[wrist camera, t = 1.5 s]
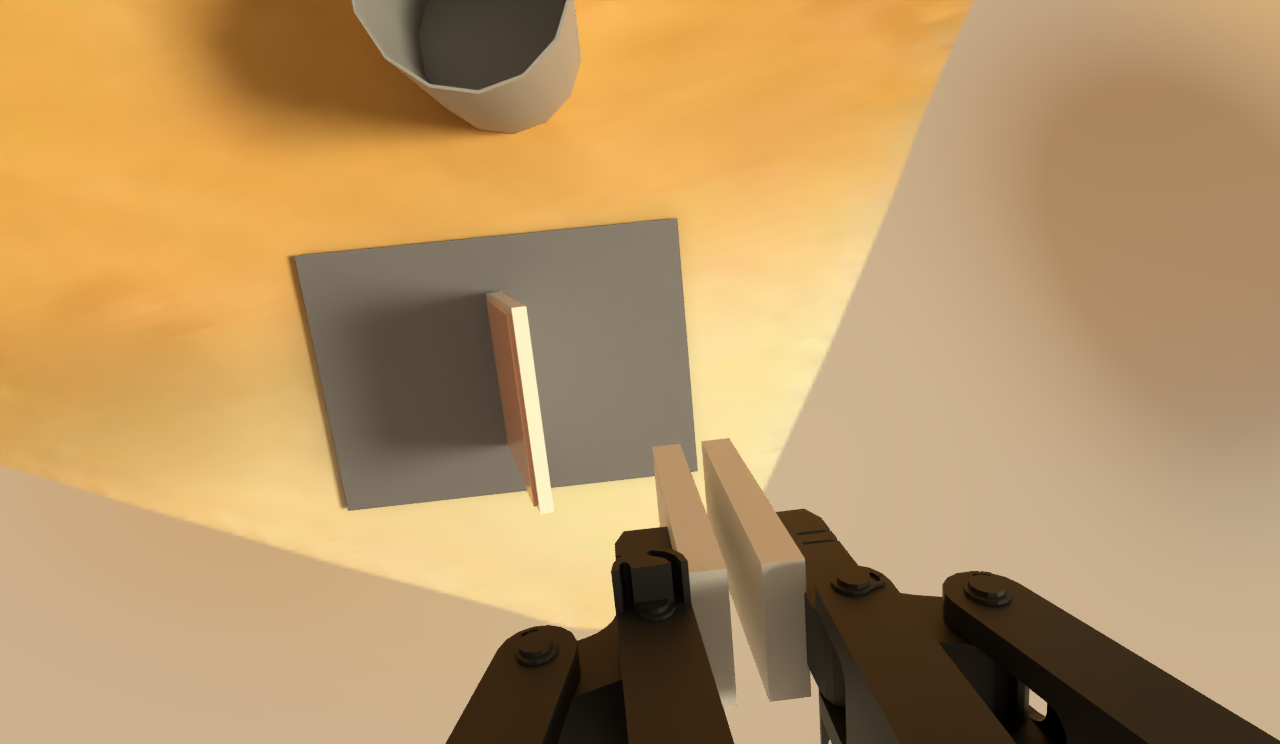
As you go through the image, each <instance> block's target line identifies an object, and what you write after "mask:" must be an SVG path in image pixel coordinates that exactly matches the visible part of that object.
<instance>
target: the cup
mask: <svg viewBox="0 0 1280 744" xmlns="http://www.w3.org/2000/svg"><path fill="white" fill-rule="evenodd" d="M352 5H353V11H354V13H355V15H356V16H357V18H358V19H359V21H360V22H361V24H362V25H363V27H364V28H365V30H366V31H367V33H368V34H369V36H370V37H371V39H372V40H373V42H374V43H375V45H376V46H377V48H378V49H379V51H380V52H381V54H382V55H383V57H384V58H385V59H386V60H387V61H388V62H390V63H391V64H392V65H393V66H394V67H396V68H397V69H398V70H399V71H401V72H402V73H403V74H404V75H406V76H407V77H408V78H409V79H410V80H412V81H413V82H414V83H415V84H417V85H418V86H419V87H420V88H422V89H423V90H424V91H425V92H426V93H428V94H429V95H430V96H431V97H433V98H434V99H435V100H436V101H438V102H439V103H440V104H441V105H442V106H444V107H445V108H446V109H447V110H449V111H450V112H452V113H454V114H455V115H457V116H458V117H460V118H461V119H463V120H464V121H466V122H468V123H469V124H471V125H472V126H474V127H475V128H477V129H479V130H486V131H494V132H502V133H510V134H515V133H518V132H520V131H523V130H526V129H529V128H531V127H534V126H537V125H540V124H542V123H545V122H547V121H548V120H549V119H550V118H551V116H552V115H553V114H554V113H555V112H556V111H557V110H558V109H559V108H560V107H561V106H562V105H563V103H564V102H565V101H566V100H567V99H568V98H569V97H570V96H571V92H572V89H573V86H574V83H575V79H576V76H577V73H578V69H579V66H580V63H581V54H580V45H579V37H578V28H577V19H576V10H575V2H574V0H352Z"/></svg>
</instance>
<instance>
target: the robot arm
mask: <svg viewBox="0 0 1280 744" xmlns="http://www.w3.org/2000/svg"><path fill="white" fill-rule="evenodd" d="M652 449H653V460H654V470H655V480H656V491H657V501H658V511H659V522H660V527H659V528H650V529H642V530H633V531H624V532H623V533H622V535H621V536H620V537H619V539H618V540H617V542H616V543H615V554H616V561H615V562H614V563H613V566H612V570H611V574H612V583H613V591H614V600H615V609H616V616H615V618H614V620H613V621H612V622H611V623H610V624H609V625H608V626H607V627H606V628H604V629H603V630H601V631H600V632H598V633H596V634H594V635H592V636H590V637H587V638H585V639H581V640H578V641H577V640H576V639H575V637H574V635H573V634H572V633H571V632H570V631H568V630H566V629H564V628H562V627H557V626H550V625H546V626H536V627H532V628H529V629H526V630H523V631H520V632H518V633H516V634H515V635H513V636H512V637H510V638H508V639H507V640H506V641H505V642H504V643H503V644H502V645H501V647H500V648H499V649H498V650H497V652H496V654H495V656H494V658H493V659H492V661H491V663H490V665H489V667H488V668H487V670H486V672H485V674H484V675H483V677H482V679H481V681H480V683H479V684H478V686H477V688H476V690H475V692H474V694H473V695H472V697H471V699H470V701H469V703H468V704H467V706H466V708H465V710H464V711H463V713H462V715H461V717H460V719H459V720H458V722H457V724H456V726H455V728H454V730H453V732H452V733H451V735H450V737H449V738H448V740H447V742H446V744H734V742H733V738H732V735H731V732H730V728H729V725H728V722H727V719H726V715H725V712H724V709H723V708H725V707H733V706H737V699H736V685H735V672H734V658H733V644H732V630H731V616H730V602H729V591H730V594H731V596H732V599H733V602H734V605H735V607H736V610H737V613H738V616H739V618H740V621H741V624H742V627H743V629H744V632H745V635H746V638H747V641H748V643H749V646H750V649H751V652H752V654H753V657H754V660H755V663H756V665H757V668H758V671H759V674H760V677H761V679H762V682H763V685H764V688H765V690H766V693H767V696H768V699H769V701H770V702H771V701H779V700H787V699H795V698H803V697H811V684H810V671H811V673H812V675H813V677H814V679H815V681H816V683H817V685H818V687H819V708H820V709H819V710H820V733H821V744H828V742H829V740H831V743H832V744H1280V741H1279V740H1278V739H1276V738H1274V737H1273V736H1271V735H1269V734H1267V733H1266V732H1264V731H1263V730H1261V729H1259V728H1258V727H1256V726H1254V725H1253V724H1251V723H1249V722H1248V721H1246V720H1244V719H1243V718H1241V717H1239V716H1238V715H1236V714H1234V713H1233V712H1231V711H1229V710H1228V709H1226V708H1224V707H1223V706H1221V705H1220V704H1218V703H1216V702H1215V701H1213V700H1211V699H1210V698H1208V697H1206V696H1205V695H1203V694H1201V693H1200V692H1198V691H1196V690H1194V689H1193V688H1191V687H1190V686H1188V685H1186V684H1185V683H1183V682H1181V681H1180V680H1178V679H1177V678H1175V677H1173V676H1172V675H1170V674H1168V673H1167V672H1165V671H1163V670H1162V669H1160V668H1158V667H1157V666H1155V665H1153V664H1152V663H1150V662H1148V661H1147V660H1145V659H1143V658H1142V657H1140V656H1138V655H1137V654H1135V653H1133V652H1132V651H1130V650H1129V649H1127V648H1125V647H1124V646H1122V645H1120V644H1119V643H1117V642H1115V641H1114V640H1112V639H1110V638H1109V637H1107V636H1105V635H1104V634H1102V633H1100V632H1099V631H1097V630H1095V629H1094V628H1092V627H1090V626H1089V625H1087V624H1085V623H1084V622H1082V621H1080V620H1079V619H1077V618H1075V617H1074V616H1072V615H1071V614H1069V613H1067V612H1065V611H1064V610H1062V609H1060V608H1059V607H1057V606H1056V605H1054V604H1052V603H1050V602H1049V601H1047V600H1046V599H1044V598H1042V597H1041V596H1039V595H1037V594H1035V593H1034V592H1032V591H1031V590H1029V589H1027V588H1026V587H1024V586H1023V585H1021V584H1019V583H1017V582H1015V581H1013V580H1010V579H1008V578H1006V577H1003V576H999V575H995V574H992V573H990V572H982V571H981V572H978V571H970V572H964V573H957V574H954V575H952V576H950V577H948V578H947V579H946V580H945V582H944V583H943V596H942V597H935V596H921V595H911V594H903V593H900V592H899V591H898V590H897V589H896V587H895V586H894V584H893V583H892V582H891V581H890V580H889V579H888V578H887V577H886V576H884V575H883V574H882V573H880V572H878V571H875V570H873V569H871V568H868V567H862V566H858V565H857V563H856V562H855V561H854V560H853V558H852V557H851V556H850V555H849V553H848V552H847V551H846V550H845V548H844V547H843V546H842V544H841V543H840V542H839V541H837V538H836V536H835V535H834V534H833V533H832V531H830V529H829V527H828V526H827V525H826V524H825V522H824V521H823V520H822V518H821V517H819V516H816V515H815V514H813V513H811V512H809V511H807V510H805V509H798V510H790V511H782V512H775V511H774V509H773V507H772V506H771V504H770V503H769V501H768V499H767V498H766V496H765V495H764V493H763V491H762V490H761V488H760V487H759V485H758V483H757V482H756V480H755V479H754V477H753V475H752V474H751V472H750V471H749V469H748V468H747V466H746V464H745V463H744V461H743V460H742V458H741V456H740V455H739V453H738V452H737V450H736V448H735V447H734V445H733V444H732V442H731V441H730V439H729V438H728V439H719V440H710V441H702V453H703V466H704V479H705V492H706V504H707V514H706V511H705V509H704V506H703V503H702V501H701V498H700V495H699V493H698V490H697V488H696V485H695V482H694V480H693V477H692V474H691V472H690V469H689V466H688V464H687V461H686V458H685V456H684V453H683V450H682V448H681V445H680V444H674V445H665V446H656V447H652ZM728 588H729V590H728ZM1029 689H1031V690H1032V691H1033V692H1035V693H1036V694H1037V695H1038V696H1040V697H1041V698H1042V699H1044V700H1045V701H1046V702H1047V714H1046V717H1045V716H1044V715H1042V714H1040V713H1039V712H1037V711H1036V710H1035V709H1034V708H1032V707H1031V706H1030V705H1029Z"/></svg>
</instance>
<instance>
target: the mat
mask: <svg viewBox="0 0 1280 744" xmlns="http://www.w3.org/2000/svg"><path fill="white" fill-rule="evenodd" d="M294 257H295V262H296V266H297V271H298V276H299V280H300V285H301V290H302V295H303V299H304V304H305V309H306V314H307V318H308V323H309V328H310V332H311V337H312V342H313V347H314V351H315V356H316V361H317V365H318V370H319V375H320V380H321V384H322V389H323V394H324V399H325V403H326V408H327V413H328V417H329V422H330V427H331V432H332V436H333V441H334V446H335V450H336V455H337V460H338V465H339V469H340V474H341V479H342V483H343V488H344V493H345V498H346V502H347V507H348V511H351V510H360V509H369V508H378V507H386V506H395V505H404V504H413V503H422V502H430V501H439V500H448V499H457V498H466V497H474V496H483V495H492V494H501V493H510V492H518V491H527V489H526V487H525V484H524V482H523V480H522V477H521V475H520V473H519V470H518V468H517V465H516V463H515V461H514V458H513V456H512V454H511V451H510V449H509V447H508V442H507V436H506V429H505V422H504V416H503V409H502V402H501V395H500V389H499V382H498V375H497V369H496V362H495V355H494V348H493V342H492V335H491V328H490V322H489V315H488V308H487V301H486V299H487V298H486V293H489V292H497V291H502V292H503V294H505V295H507V296H508V297H510V298H512V299H514V300H516V301H518V302H520V303H521V304H523V305H525V306H526V308H527V315H528V323H529V330H530V338H531V345H532V352H533V360H534V367H535V374H536V382H537V389H538V397H539V404H540V411H541V419H542V426H543V433H544V441H545V448H546V456H547V463H548V470H549V478H550V485H551V488H554V487H563V486H571V485H580V484H589V483H598V482H607V481H615V480H624V479H633V478H642V477H651V476H655V470H654V460H653V449H652V447H656V446H665V445H674V444H680V445H681V448H682V450H683V453H684V456H685V458H686V461H687V464H688V466H689V469H690V472H695V471H698V469H697V457H696V444H695V432H694V420H693V407H692V395H691V383H690V370H689V358H688V346H687V333H686V321H685V308H684V296H683V284H682V271H681V259H680V247H679V234H678V222H677V218H676V219H666V220H655V221H645V222H635V223H625V224H615V225H604V226H594V227H584V228H574V229H564V230H553V231H543V232H533V233H523V234H513V235H502V236H492V237H482V238H472V239H462V240H451V241H441V242H431V243H421V244H411V245H400V246H390V247H380V248H370V249H359V250H349V251H339V252H329V253H319V254H308V255H298V256H294Z"/></svg>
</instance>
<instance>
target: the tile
mask: <svg viewBox="0 0 1280 744" xmlns="http://www.w3.org/2000/svg"><path fill="white" fill-rule="evenodd" d="M486 298H487V299H486V301H487V308H488V315H489V322H490V328H491V335H492V342H493V348H494V355H495V362H496V369H497V375H498V382H499V389H500V395H501V402H502V409H503V416H504V422H505V429H506V436H507V442H508V447H509V449H510V451H511V454H512V456H513V458H514V461H515V463H516V465H517V468H518V470H519V473H520V475H521V477H522V480H523V482H524V484H525V487H526V489H527V492H528V494H529V496H530V499H531V501H532V503H533V506H537V508H538V510H539V512H540V515H541V514H545V513H549V512H554V507H553V500H552V492H551V485H550V478H549V470H548V463H547V456H546V448H545V441H544V433H543V426H542V419H541V411H540V404H539V397H538V389H537V382H536V374H535V367H534V360H533V352H532V345H531V338H530V330H529V323H528V315H527V308H526V306H525V305H523V304H521V303H520V302H518V301H516V300H514V299H512V298H510V297H508V296H507V295H505V294H503V292H502V291H497V292H489V293H486Z"/></svg>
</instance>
